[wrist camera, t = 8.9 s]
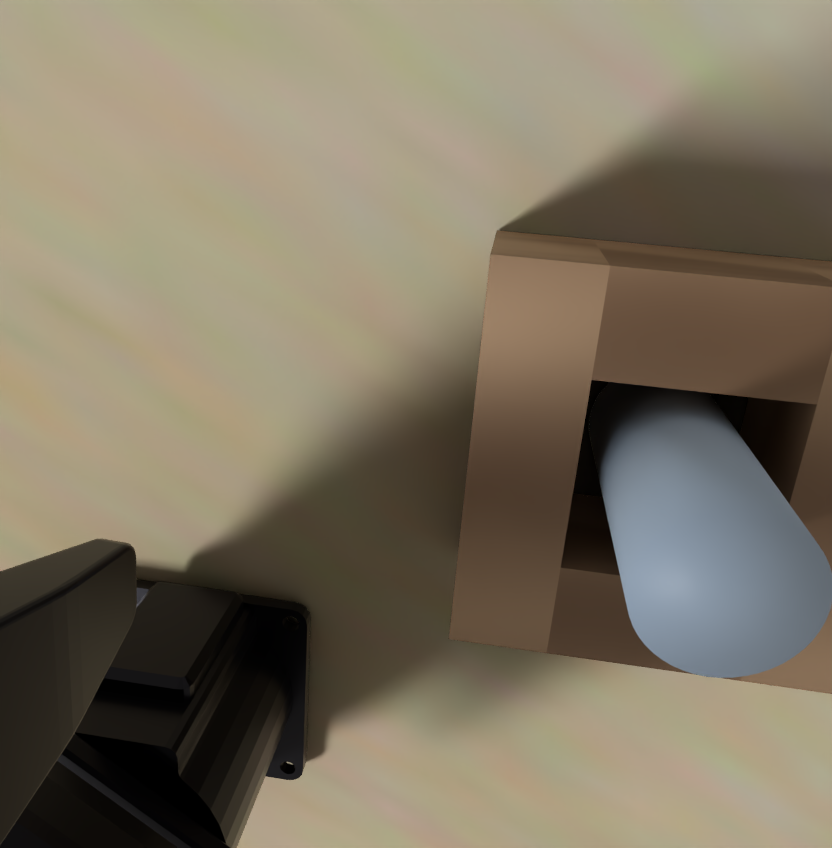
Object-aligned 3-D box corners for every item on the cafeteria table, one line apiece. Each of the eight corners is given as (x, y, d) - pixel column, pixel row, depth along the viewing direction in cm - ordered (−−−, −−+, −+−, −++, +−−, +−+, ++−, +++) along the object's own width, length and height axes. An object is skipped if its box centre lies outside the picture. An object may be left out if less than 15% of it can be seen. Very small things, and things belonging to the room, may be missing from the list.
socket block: (788, 597, 21) (845, 695, 17) (461, 553, 22) (448, 638, 18) (885, 266, 18) (979, 301, 14) (496, 230, 19) (490, 254, 15)
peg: (702, 488, 20) (805, 690, 13) (579, 473, 21) (611, 662, 13) (728, 372, 19) (858, 521, 12) (599, 358, 20) (644, 495, 12)
